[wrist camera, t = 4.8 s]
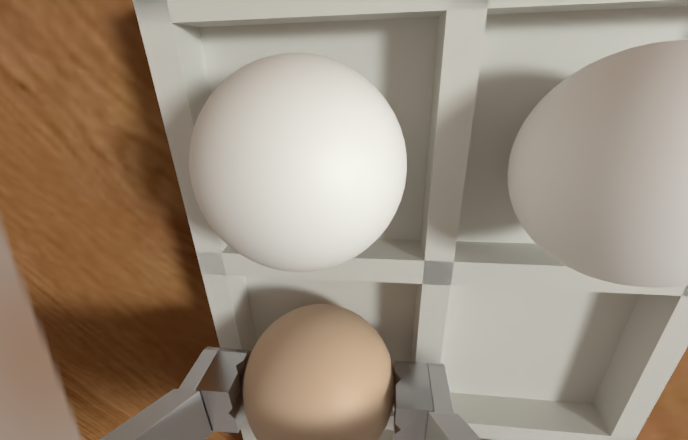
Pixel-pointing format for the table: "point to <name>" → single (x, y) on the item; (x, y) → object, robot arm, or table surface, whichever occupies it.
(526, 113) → the egg carton
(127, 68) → the table surface
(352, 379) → the brown egg
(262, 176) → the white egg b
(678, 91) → the white egg
